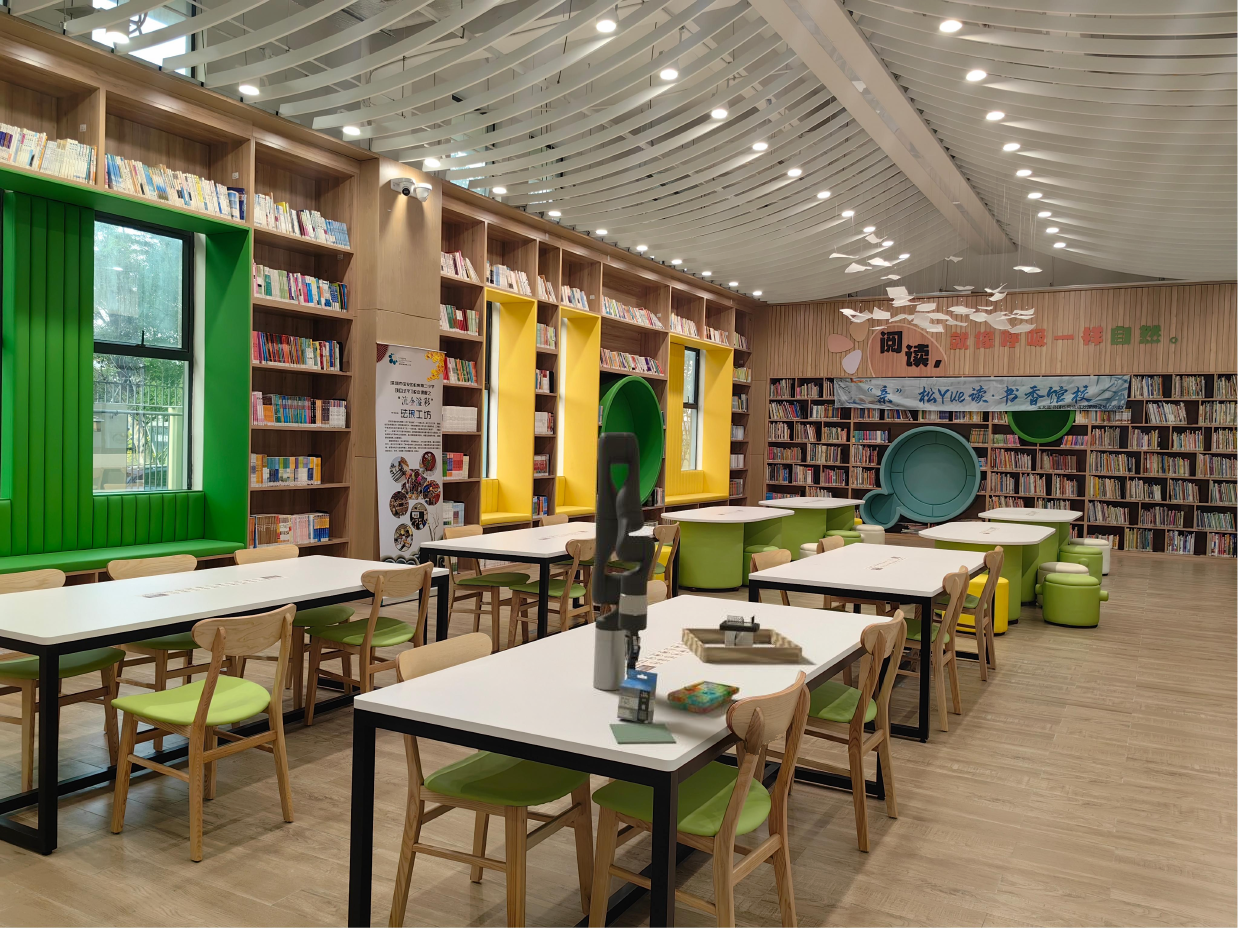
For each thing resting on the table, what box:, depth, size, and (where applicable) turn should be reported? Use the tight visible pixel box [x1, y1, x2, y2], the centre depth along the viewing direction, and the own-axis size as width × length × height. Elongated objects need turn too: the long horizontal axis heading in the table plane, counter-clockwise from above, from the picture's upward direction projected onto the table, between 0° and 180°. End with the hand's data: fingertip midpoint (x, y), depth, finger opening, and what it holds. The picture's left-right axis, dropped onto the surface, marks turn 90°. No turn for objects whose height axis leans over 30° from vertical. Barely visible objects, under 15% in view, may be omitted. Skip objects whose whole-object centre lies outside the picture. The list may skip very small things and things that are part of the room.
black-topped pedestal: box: [718, 614, 761, 647], centre depth 319 cm, size 28×26×13 cm
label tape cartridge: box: [616, 669, 658, 724], centre depth 231 cm, size 9×4×12 cm, turn 62°
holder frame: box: [681, 627, 803, 663], centre depth 318 cm, size 32×34×5 cm
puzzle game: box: [666, 680, 740, 714], centre depth 250 cm, size 12×5×20 cm
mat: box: [609, 723, 677, 745], centre depth 220 cm, size 14×14×1 cm
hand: (630, 675), depth 239 cm, fingers closed
